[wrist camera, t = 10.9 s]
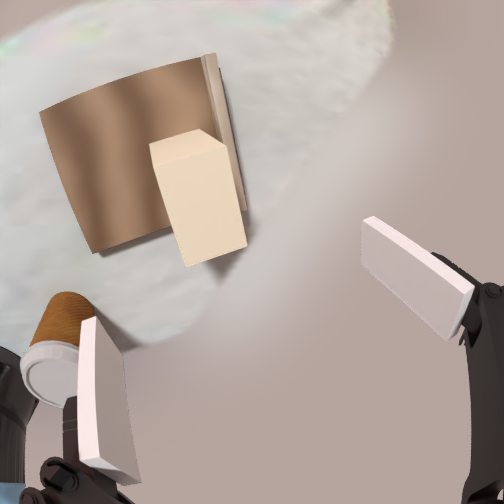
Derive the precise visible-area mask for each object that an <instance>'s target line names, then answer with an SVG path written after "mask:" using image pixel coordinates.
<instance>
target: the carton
mask: <svg viewBox="0 0 504 504" xmlns="http://www.w3.org/2000/svg"><path fill="white" fill-rule="evenodd" d="M149 146H150V152H151V158H152V163H153V168H154V172H155V175H156V178H157V182H158V185H159V188H160V191H161V194H162V198H163V201H164V204H165V207H166V210H167V213H168V216H169V219H170V222H171V225H172V228H173V231H174V234H175V237H176V240H177V243H178V246H179V249H180V252H181V255H182V258H183V261H184V263H185V266H186V267H189V266H192V265H195V264H197V263H200V262H203V261H206V260H209V259H212V258H215V257H218V256H221V255H224V254H226V253H229V252H232V251H235V250H238V249H241V248H244V247H247V246H248V245H247V241H246V236H245V231H244V227H243V222H242V217H241V212H240V208H239V203H238V198H237V193H236V189H235V184H234V179H233V175H232V170H231V165H230V160H229V156H228V151H227V146H226V145H224V144H222V143H221V142H219V141H218V140H216V139H215V138H213V137H211V136H210V135H208V134H207V133H205V132H203V131H202V130H200V129H197V130H193V131H190V132H186V133H183V134H179V135H176V136H173V137H169V138H166V139H163V140H160V141H157V142H153V143H150V144H149Z"/></svg>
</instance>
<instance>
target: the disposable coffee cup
mask: <svg viewBox="0 0 504 504" xmlns="http://www.w3.org/2000/svg"><path fill="white" fill-rule="evenodd" d="M92 317H94V311H93V308H92V306H91V304H90V303H89V301H88V300H87V299H85V298H84V297H83V296H81V295H79V294H77V293H74V292H61V293H58V294H56V295H54V296H53V297H52V298H51V300H50V302H49V304H48V306H47V308H46V310H45V312H44V314H43V317H42V319H41V321H40V323H39V325H38V328H37V330H36V332H35V334H34V337H33V339H32V342H31V344H30V346H29V348H28V349H27V351H25V352H24V354H23V355H22V357H21V361H20V369H21V373H22V378H23V381H24V384H25V386H26V387H27V389H28V390H29V391H30V392H31V393H32V394H33V395H34V396H35V397H37V398H38V399H39V400H41V401H42V402H44V403H46V404H49V405H51V406H54V407H58V408H64V405H65V403H66V400H67V398H69V397H73V396H76V395H77V388H78V362H79V346H80V334H81V324H82V321H84V320H87V319H89V318H92Z"/></svg>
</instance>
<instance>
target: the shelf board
mask: <svg viewBox="0 0 504 504" xmlns="http://www.w3.org/2000/svg"><path fill="white" fill-rule="evenodd" d="M39 114H40V117H41V121H42V124H43V128H44V131H45V134H46V137H47V141H48V144H49V147H50V150H51V153H52V156H53V159H54V162H55V165H56V167H57V170H58V173H59V176H60V178H61V181H62V184H63V186H64V189H65V192H66V194H67V197H68V199H69V202H70V204H71V207H72V209H73V211H74V214H75V216H76V218H77V221H78V223H79V225H80V228H81V230H82V232H83V234H84V237H85V239H86V241H87V243H88V245H89V247H90V250H91V252H92V254H94V253H97V252H100V251H102V250H105V249H108V248H110V247H113V246H116V245H119V244H121V243H124V242H127V241H130V240H132V239H135V238H138V237H141V236H144V235H147V234H149V233H152V232H155V231H158V230H161V229H164V228H167V227H170V226H172V225H171V222H170V219H169V216H168V213H167V210H166V207H165V204H164V201H163V198H162V194H161V191H160V188H159V185H158V182H157V178H156V175H155V172H154V168H153V163H152V158H151V152H150V146H149V144H150V143H153V142H157V141H160V140H163V139H166V138H169V137H173V136H176V135H179V134H183V133H186V132H190V131H193V130H197V129H200V130H202V131H203V132H205V133H207V134H208V135H210V136H211V137H213V138H215V139H216V140H218V141H219V142H221V143H222V144H224V145H226V146H227V151H228V156H229V160H230V165H231V170H232V175H233V179H234V184H235V189H236V193H237V198H238V203H239V208H240V212H242V211H246V210H247V206H246V201H245V196H244V195H245V191H244V186H243V181H242V176H241V171H240V166H239V161H238V156H237V151H236V146H235V141H234V136H233V131H232V126H231V121H230V116H229V111H228V106H227V101H226V96H225V91H224V86H223V81H222V76H221V71H220V68H219V67H218V62H217V57H216V53H212V54H207V55H204V56H202V57H199V58H195V59H190V60H186V61H181V62H177V63H173V64H169V65H165V66H162V67H158V68H154V69H151V70H147V71H144V72H140V73H137V74H134V75H131V76H128V77H125V78H121V79H119V80H116V81H113V82H110V83H107V84H104V85H102V86H99V87H96V88H94V89H91V90H88V91H86V92H83V93H81V94H78V95H76V96H74V97H71V98H69V99H67V100H64V101H62V102H60V103H58V104H55V105H53V106H51V107H49V108H47V109H45V110H43V111H41V112H39Z"/></svg>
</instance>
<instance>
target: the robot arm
mask: <svg viewBox="0 0 504 504" xmlns="http://www.w3.org/2000/svg"><path fill="white" fill-rule="evenodd" d="M361 249H362V250H361V265H362V266H363V267H364V268H365V269H366V270H368V271H369V272H370V273H371V274H372V275H373V276H374V277H376V278H377V279H378V280H379V281H380V282H381V283H383V284H384V285H385V286H386V287H387V288H388V289H389V290H390V291H391V292H393V293H394V294H395V295H396V296H397V297H398V298H399V299H400V300H402V301H403V302H404V303H405V304H406V305H407V306H408V307H409V308H410V309H412V310H413V311H414V312H415V313H416V314H417V315H418V316H419V317H420V318H421V319H423V320H424V321H425V322H426V323H427V324H428V325H429V326H430V327H431V328H432V329H433V330H434V331H435V332H436V333H437V334H439V336H441V337H442V338H443V339H444V340H445V341H446V342H447V341H449V340H450V339H451V338H452V337H454V336H455V335H456V334H457V333H458V330H459V328H460V326H461V324H462V325H463V326H464V327H465V329H464V332H463V334H462V336H461V338H460V341H459V345H461V344H462V342H463V340H465V343H464V345H465V346H466V354H467V363H468V372H469V383H470V397H471V424H472V425H471V427H472V428H471V429H472V431H471V433H472V435H471V466H470V467H471V468H470V473H469V476H468V478H467V480H466V482H465V485H464V488H463V493H462V501H461V504H504V491H503V500H497V497H498V494H499V492H500V491H501V490H502V489H504V286H501V287H500V286H499V285H497V284H495V283H490V282H489V283H484V284H481V283H480V282H478V281H477V280H476V279H474V278H473V277H472V276H470V275H469V274H468V273H466V272H465V271H464V270H462V269H461V268H458V266H457V265H455V264H454V263H451V261H450V260H448V259H447V258H445V257H444V256H442V255H439V254H437V253H434V252H432V253H429V252H427V251H426V250H425V249H423V248H422V247H420V246H419V245H417V244H416V243H414V242H413V241H411V240H410V239H408V238H407V237H405V236H404V235H402V234H401V233H399V232H398V231H396V230H395V229H393V228H392V227H390V226H388V225H387V224H385V223H384V222H382V221H381V220H379V219H378V218H376V217H374V216H372V217H369V218H367V219H364V220H362V247H361ZM20 361H21V358H19V357H18V356H16V355H15V354H13V353H12V352H10V351H8V350H6V349H4V348H2V347H0V504H135V503H133V502H132V501H131V500H130V499H128V498H127V497H126V496H125V495H123V494H122V493H121V492H120V491H118V490H117V486H116V482H117V483H119V484H121V485H123V486H126V485H132V484H137V483H141V478H140V474H139V469H138V464H137V459H136V453H135V448H134V443H133V437H132V430H131V424H130V417H129V410H128V403H127V394H126V385H125V376H124V365H123V356H122V354H121V353H120V351H119V350H118V348H117V347H116V346H115V344H114V343H113V341H112V340H111V338H110V337H109V335H108V334H107V332H106V331H105V329H104V328H103V326H102V324H101V323H100V321H99V320H98V318H97V317H96V316H95V317H92V318H89V319H87V320H84V321H82V324H81V334H80V346H79V362H78V388H77V395H76V396H73V397H69V398H67V400H66V403H65V405H64V408H63V432H64V433H63V459H64V460H63V459H62V458H60V457H51V458H49V459H47V460H46V461H45V462H44V463H43V465H42V467H41V470H40V480H41V483H42V485H43V486H44V487H45V489H43V490H41V491H39V490H37V489H35V488H32V487H28V488H25V487H26V485H25V439H26V427H27V424H28V423H29V421H30V419H31V416H32V415H33V412H34V410H35V408H36V407H37V405H38V403H39V399H38V398H37V397H35V396H34V395H33V394H32V393H31V392H30V391H29V390H28V389H27V387H26V386H25V384H24V381H23V378H22V373H21V369H20Z"/></svg>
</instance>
